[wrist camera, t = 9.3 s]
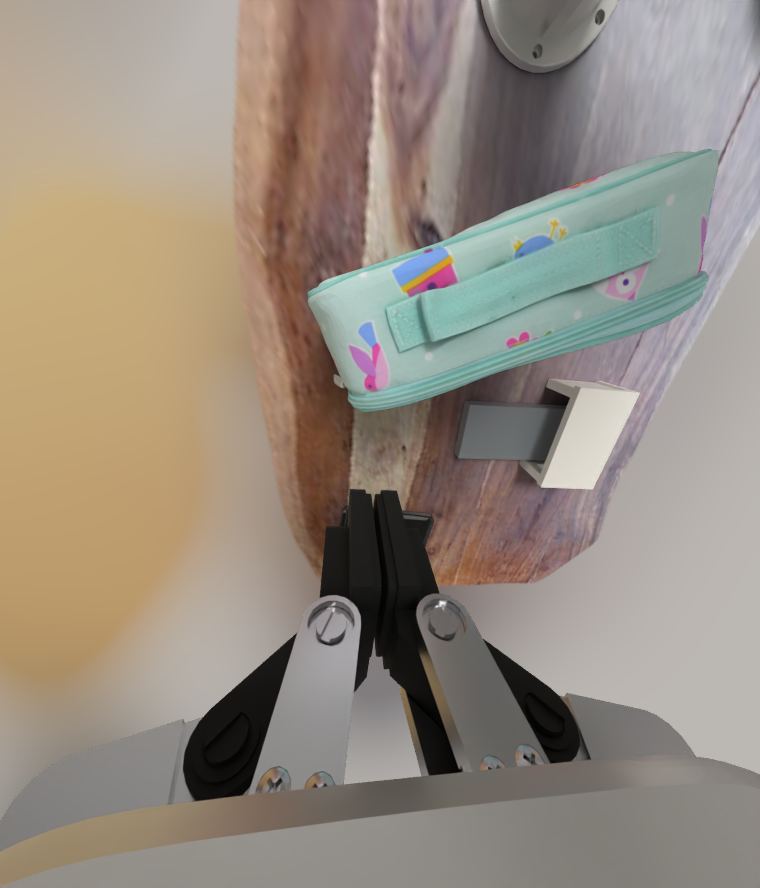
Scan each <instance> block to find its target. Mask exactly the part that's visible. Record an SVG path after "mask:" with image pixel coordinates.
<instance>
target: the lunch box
mask: <svg viewBox="0 0 760 888" xmlns="http://www.w3.org/2000/svg"><path fill="white" fill-rule="evenodd" d="M717 171H718V150H711V149H707V150H702V151H699V152H695V153H694V152H675V153H670V154H665V155H661V156H657V157H653V158H650V159H647V160H644V161H641V162H638V163H635V164H632V165H629V166H626V167H623V168H620V169H617V170H614V171H611V172H609V173H606V174H604V175H601V176H598V177H595V178H593V179H590V180H587V181H584V182H581V183H579V184H576V185H573V186H570V187H567V188H565V189H562V190H559V191H556V192H553V193H551V194H548V195H546V196H543V197H541V198H539V199H536V200H534V201H531V202H529V203H526V204H524V205H521V206H518V207H515V208H513V209H510V210H507V211H505V212H503V213H501V214H499V215H497V216H495V217H493V218H491V219H489V220H487V221H485V222H482V223H479V224H477V225H474V226H472V227H469V228H468V229H466V230H464V231H462V232H460V233H458V234H456V235H454V236H452V237H450V238H448V239H446V240H444V241H442V242H439V243H436V244H433V245H430V246H427V247H424V248H421V249H418V250H415V251H412V252H409V253H406V254H403V255H401V256H398V257H395V258H392V259H389V260H386V261H383V262H380V263H377V264H374V265H371V266H368V267H365V268H362V269H359V270H355V271H352V272H349V273H346V274H342V275H339V276H336V277H333V278H330V279H327V280H325V281H323V282H322V283H320V284H319V286H318V287H317V288H315V289H313V290H311V291H309V292H308V297H309V299H308V304H309V306H310V308H311V310H312V312H313V314H314V316H315V318H316V320H317V322H318V324H319V326H320V328H321V331H322V334H323V337H324V340H325V343H326V345H327V347H328V349H329V351H330V353H331V355H332V358H333V360H334V362H335V365H336V367H337V369H338V372H339V375H336V374H334V383H335V384H336V385H337V386H339V387H341V388H347V390H348V401H349V402H350V403H351V404H352V406H353V407H355V408H356V409H357V410H358V411H360V412H371V411H378V410H384V409H390V408H395V407H400V406H404V405H408V404H412V403H415V402H418V401H422V400H425V399H428V398H431V397H434V396H436V395H439V394H442V393H445V392H448V391H450V390H453V389H456V388H458V387H461V386H464V385H466V384H469V383H471V382H474V381H476V380H479V379H481V378H484V377H487V376H490V375H492V374H495V373H498V372H501V371H504V370H508V369H511V368H514V367H517V366H521V365H525V364H529V363H532V362H535V361H539V360H542V359H546V358H550V357H553V356H557V355H561V354H565V353H568V352H572V351H576V350H580V349H583V348H587V347H591V346H595V345H599V344H603V343H607V342H610V341H614V340H617V339H621V338H624V337H627V336H630V335H633V334H636V333H639V332H642V331H645V330H647V329H650V328H652V327H655V326H657V325H660V324H662V323H664V322H667V321H669V320H671V319H672V318H674V317H676V316H678V315H680V314H681V313H683V312H684V311H686V310H687V309H689V308H690V307H692V306H693V305H694V304H695V303H696V302H697V301H698V300H699V299H700V298H701V297H702V295H703V291H704V290H705V289H706V283H707V282H708V280H709V277H708V276H707V272H705V271H700V270H701V265H702V259H703V246H704V242H705V237H706V233H707V226H708V220H709V213H710V207H711V201H712V195H713V191H714V186H715V181H716V176H717Z"/></svg>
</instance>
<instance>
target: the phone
mask: <svg viewBox="0 0 760 888" xmlns="http://www.w3.org/2000/svg"><path fill="white" fill-rule="evenodd" d="M348 509H349V505H348V506H346V507H345V508H344V509H343V513H342V518H341V523H340V527H347V522H348ZM402 513H403V517H404V521H405V524H406V528H418V529H419V531H420V533H421V536H422V539H423V543H424V546H425V545H426V543H427V540H428V537H429V534H430V532H431V529H432V526H433V523H434V519H433V517H432V515H431V514H428V513H418V512H409V511H402Z"/></svg>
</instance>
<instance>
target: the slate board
mask: <svg viewBox="0 0 760 888" xmlns="http://www.w3.org/2000/svg"><path fill="white" fill-rule="evenodd" d="M566 407H567V405H547V404H527V403H507V402H486V401H466V400H465V403H464V407H463V412H462V417H461V422H460V426H459V431H458V436H457V441H456V446H455V450H454V453H455V454H456V456H457V457H458V458H460V459H504V460H546V458H547V456H548V453H549V451H550V448H551V446H552V443H553V440H554V438H555V435H556V433H557V430H558V428H559V425H560V423H561V420H562V418H563V415H564V413H565V410H566Z"/></svg>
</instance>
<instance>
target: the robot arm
mask: <svg viewBox="0 0 760 888" xmlns="http://www.w3.org/2000/svg"><path fill="white" fill-rule="evenodd" d="M618 2H619V0H481V4H482V8H483V13H484V18H485V21H486V24H487V26H488V29H489V32H490V35H491V37H492V38H493V40H494V42H495V44H496V45H497V47H498V49H499V50H500V52H501V53H502V54H503V55H504V56H505V57H506V58H507V59H508V61H510V62H511V63H513V64H514V65H515V66H517V67H518V68H520V69H523V70H526V71H529V72H532V73H546V72H550V71H553V70H557V69H559V68H561V67H563V66H565V65H567V64H568V63H570V62H571V61H573V60H574V59H575V58H576V57H577V56H579V55H580V54H581V53H582V52H583V51H584V50H585V49H586V48H587V47H588V46H589V45H590V44H591V43H592V42H593V41H594V39H595V38H596V37H597V36H598V35H599V33H600V32H601V31H602V29H603V28H604V27H605V25H606V24H607V22H608V20H609V18H610V17H611V15H612V13H613V11H614V9H615V8H616V6H617V4H618ZM374 637H375V649H376V656H377V657H380V656H383V665H384V669H389V671H390V676H391V677H392V678H393V679H394V680H395V681H396V682H397V683H398V684H399V687H400V695H401V699H402V702H403V706H404V710H405V714H406V718H407V721H408V725H409V729H410V733H411V737H412V741H413V745H414V748H415V752H416V756H417V760H418V764H419V768H420V772H421V775H422V777H413V778H403V779H393V780H384V781H374V782H365V783H355V784H345V785H344V775H345V767H346V757H347V748H348V739H349V730H350V721H351V712H352V702H353V694H354V692H355V691H356V690H357V688H358V687H359V686H360V685H361V683H362V682H363V681H364V679H365V678H366V677H367V671H368V664H369V658H370V657H371V654H372V648H373V642H374ZM0 888H760V774H757V773H755V772H753V771H750V770H747V769H744V768H741V767H738V766H735V765H732V764H729V763H726V762H722V761H717V760H713V759H709V758H701V757H696V756H695V755H694V753H693V751H692V750H691V748H690V747H689V746H688V745H687V743H686V742H685V740H684V739H683V738H682V736H681V735H680V734H679V733H678V732H677V731H676V730H674V729H673V728H672V726H671V725H670V724H668V723H667V722H665V721H664V720H663V719H661V718H660V717H658V716H657V715H655V714H652V713H650V712H648V711H645V710H641V709H637V708H633V707H628V706H624V705H619V704H614V703H610V702H605V701H601V700H596V699H592V698H587V697H582V696H577V695H573V694H568V693H567V694H566V695H565V696H564V697H563V696H559V695H557V694H556V693H555V692H554V691H553V690H552V689H551V688H550V687H548V686H547V685H545V684H544V683H543V682H541V681H540V680H539V679H537V678H536V677H535V676H533V675H532V674H531V673H529V672H528V671H526V670H525V669H524V668H522V667H521V666H519V665H518V664H517V663H515V662H514V661H513V660H511V659H510V658H509V657H507V656H506V655H504V654H503V653H502V652H500V651H499V650H498V649H496V648H495V647H494V646H492V645H491V644H490V643H488V642H487V641H485V640H484V639H482V636H481V635H480V633H479V631H478V629H477V627H476V625H475V623H474V622H473V620H472V618H471V616H470V614H469V613H468V611H467V610H466V609H465V607H464V606H463V605H462V604H461V603H460V602H458V601H457V600H455V599H454V598H452V597H450V596H447V595H444V594H440V593H439V591H438V587H437V584H436V581H435V578H434V574H433V571H432V568H431V565H430V562H429V559H428V555H427V552H426V549H425V546H424V543H423V539H422V536H421V533H420V531H419V529H418V528H406V524H405V521H404V517H403V513H402V509H401V505H400V501H399V497H398V494H397V491H390V490H381V493H380V494H375V499H374V507H373V505H372V497H371V494H366V491H365V490H358V489H350V495H349V509H348V522H347V527H332V526H327V527H326V537H325V547H324V558H323V569H322V579H321V590H320V598H319V599H318V600H316V601H314V602H313V603H312V604H311V605H310V606H309V607H308V608H307V609H306V611H305V613H304V615H303V617H302V619H301V623H300V626H299V629H298V632H297V633H296V634H295V635H294V636H293V637H292V638H291V639H290V640H288V641H287V642H286V643H285V644H284V645H283V646H282V647H280V649H278V650H277V651H276V652H275V653H274V654H272V655H271V656H270V657H269V658H268V659H267V660H266V661H265V662H263V663H262V664H261V665H260V666H259V667H258V668H257V669H256V670H254V671H253V672H252V673H251V674H250V675H249V676H248V677H247V678H245V679H244V680H243V681H242V682H241V683H240V684H238V685H237V686H236V687H235V688H234V689H233V690H232V691H231V692H230V693H228V694H227V695H226V696H225V697H224V698H223V699H221V700H220V701H219V702H218V703H217V704H216V705H215V706H214V707H212V708H211V709H210V710H209V711H208V712H207V714H206V715H205V716H204V717H202V718H199V719H196V720H193V721H190V722H187V723H185V722H184V720H183V719H182V720H179V721H176V722H172V723H170V724H166V725H163V726H160V727H157V728H154V729H151V730H148V731H145V732H142V733H139V734H136V735H132V736H129V737H126V738H123V739H120V740H117V741H114V742H111V743H107V744H104V745H101V746H98V747H95V748H92V749H89V750H86V751H83V752H80V753H77V754H73V755H70V756H68V757H66V758H64V759H63V760H60V761H58V762H56V763H54V764H52V765H51V766H49V767H48V768H47V769H45V770H44V771H43V772H41V773H40V774H39V775H38V776H36V777H35V778H34V779H33V780H32V781H31V782H30V783H29V784H28V785H27V786H26V787H25V788H24V789H23V790H22V791H21V792H20V794H19V795H18V796H17V797H16V798H15V799H14V800H13V802H12V803H11V805H10V806H9V808H8V810H7V811H6V813H5V814H4V816H3V817H2V819H1V820H0Z"/></svg>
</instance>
